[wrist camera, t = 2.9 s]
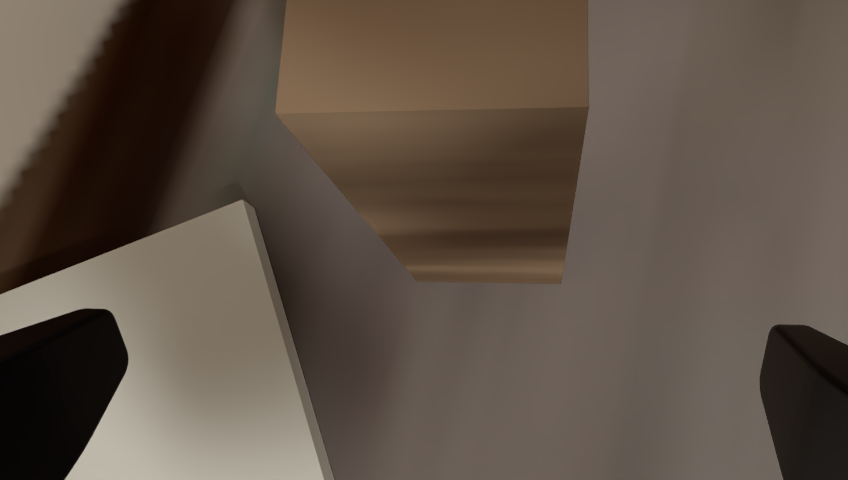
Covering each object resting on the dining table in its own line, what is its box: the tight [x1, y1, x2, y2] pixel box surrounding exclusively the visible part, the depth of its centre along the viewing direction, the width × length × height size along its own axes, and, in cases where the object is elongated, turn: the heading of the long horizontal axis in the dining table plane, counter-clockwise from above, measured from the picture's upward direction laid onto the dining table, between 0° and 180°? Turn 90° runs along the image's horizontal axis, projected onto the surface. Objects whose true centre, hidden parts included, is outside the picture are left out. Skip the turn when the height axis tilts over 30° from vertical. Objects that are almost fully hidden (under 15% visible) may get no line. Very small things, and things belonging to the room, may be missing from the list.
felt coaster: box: [0, 199, 334, 480], centre depth 23 cm, size 11×11×1 cm
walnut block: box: [275, 0, 589, 284], centre depth 17 cm, size 4×4×13 cm
